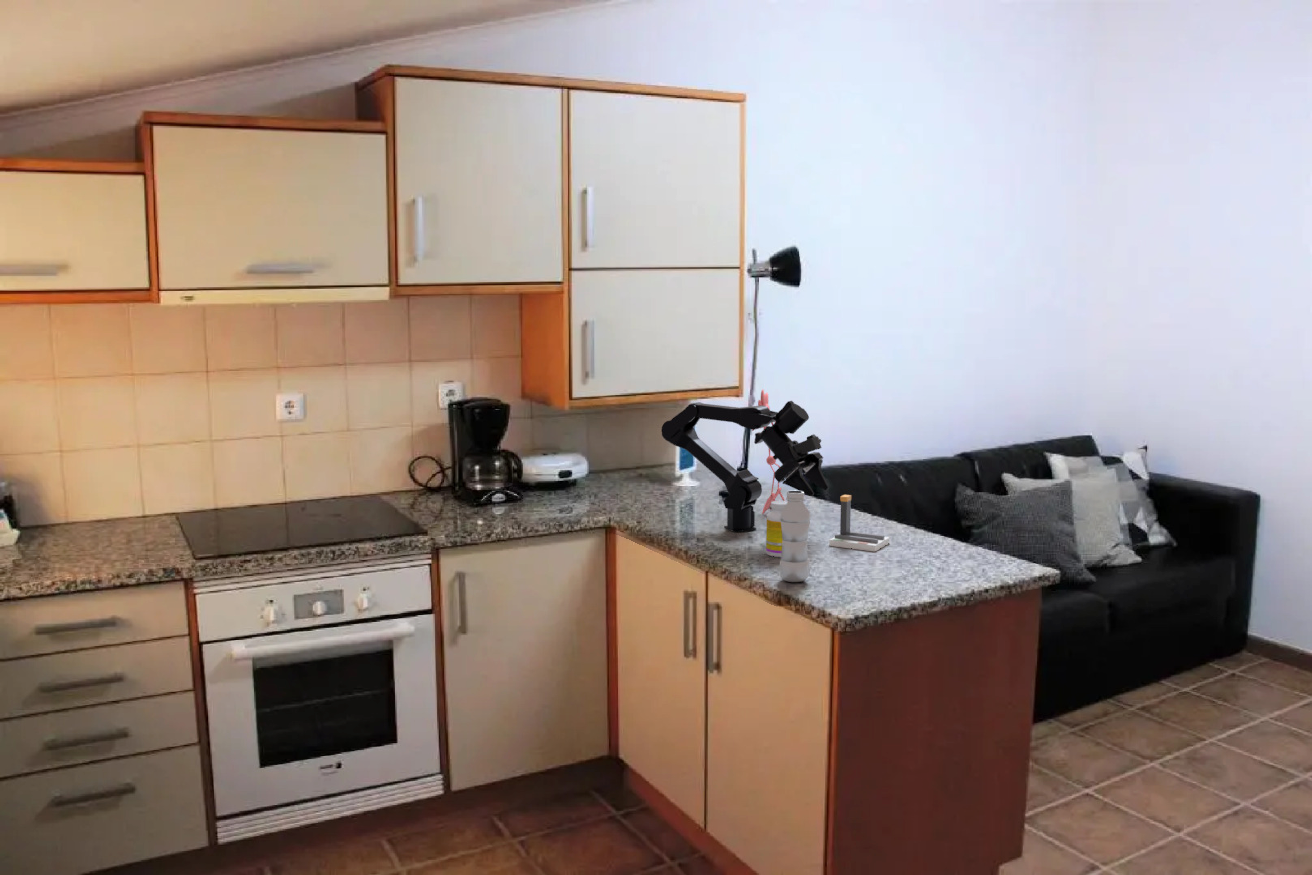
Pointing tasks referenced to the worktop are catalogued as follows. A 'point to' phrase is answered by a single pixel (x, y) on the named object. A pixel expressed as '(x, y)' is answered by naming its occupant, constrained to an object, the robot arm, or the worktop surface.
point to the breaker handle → (845, 514)
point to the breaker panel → (859, 541)
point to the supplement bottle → (774, 529)
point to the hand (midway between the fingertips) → (820, 492)
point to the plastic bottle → (794, 538)
